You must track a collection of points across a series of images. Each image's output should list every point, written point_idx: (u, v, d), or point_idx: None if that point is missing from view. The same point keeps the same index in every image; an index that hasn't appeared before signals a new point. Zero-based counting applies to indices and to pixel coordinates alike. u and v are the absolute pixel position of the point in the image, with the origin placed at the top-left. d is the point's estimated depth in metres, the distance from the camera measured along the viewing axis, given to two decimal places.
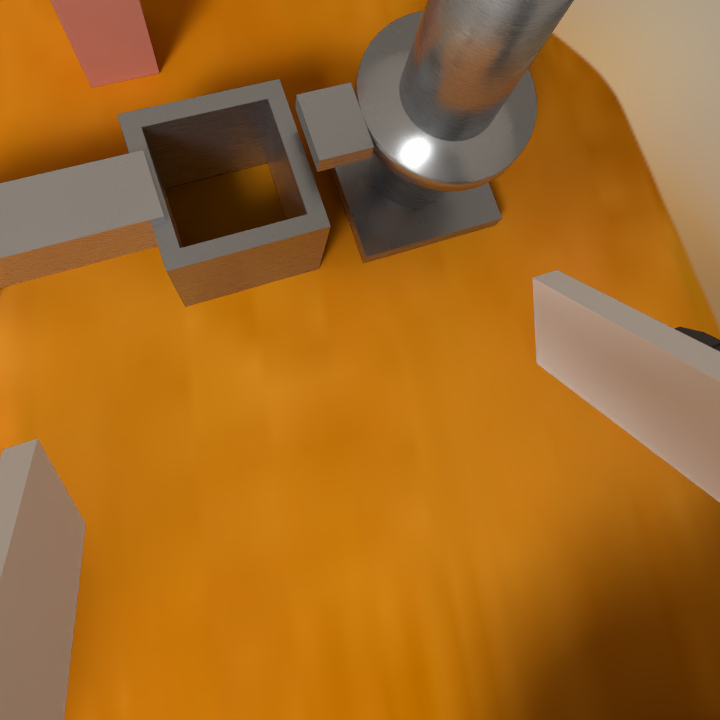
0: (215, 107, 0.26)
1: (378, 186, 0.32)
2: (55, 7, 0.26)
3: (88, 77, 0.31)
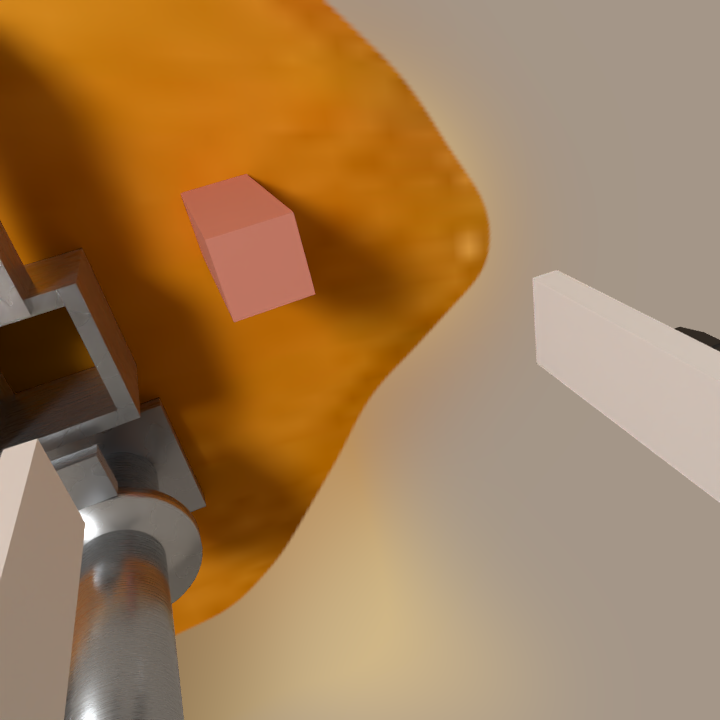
0: (100, 367, 0.28)
1: None
2: (193, 218, 0.27)
3: (182, 197, 0.31)
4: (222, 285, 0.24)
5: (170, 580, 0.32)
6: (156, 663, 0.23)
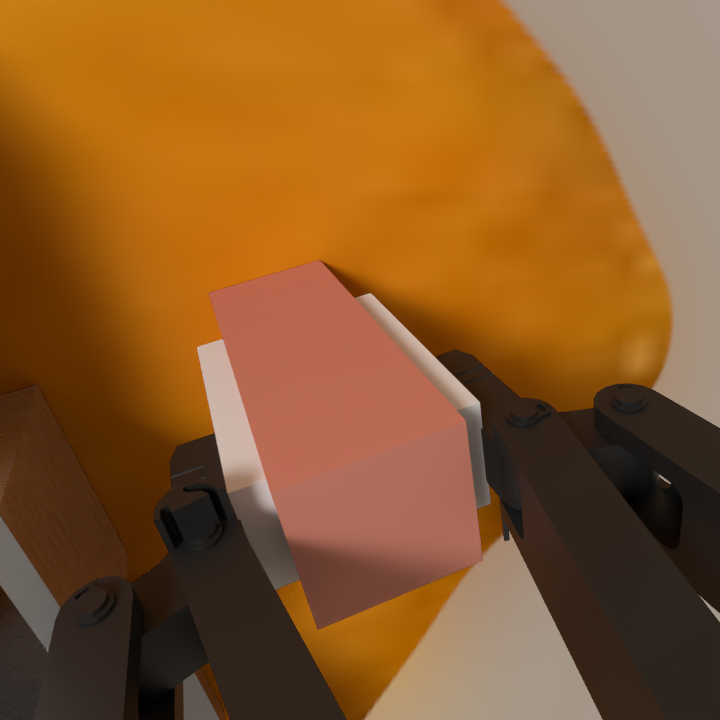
0: None
1: None
2: None
3: (212, 304, 0.18)
4: (300, 571, 0.11)
5: None
6: None
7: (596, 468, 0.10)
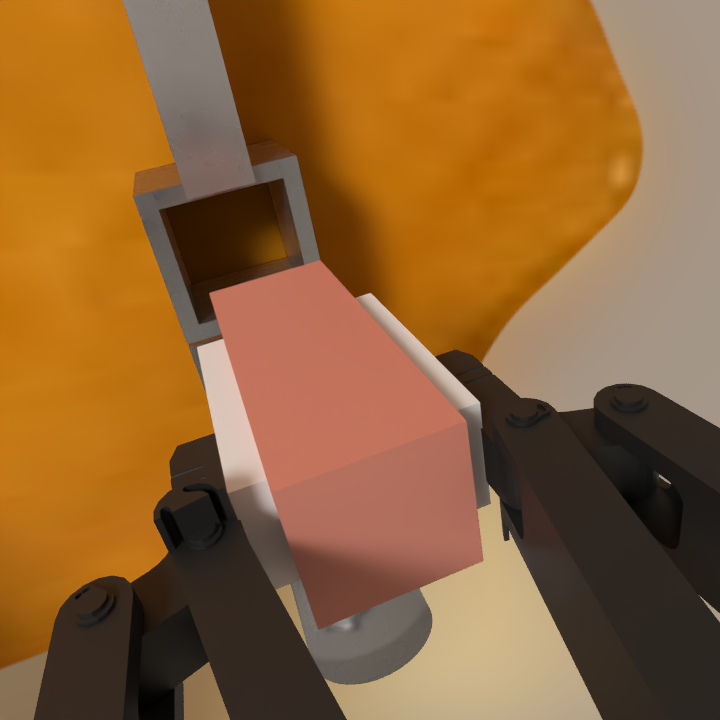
0: (303, 245, 0.29)
1: None
2: None
3: None
4: (301, 571, 0.11)
5: None
6: None
7: (597, 468, 0.10)
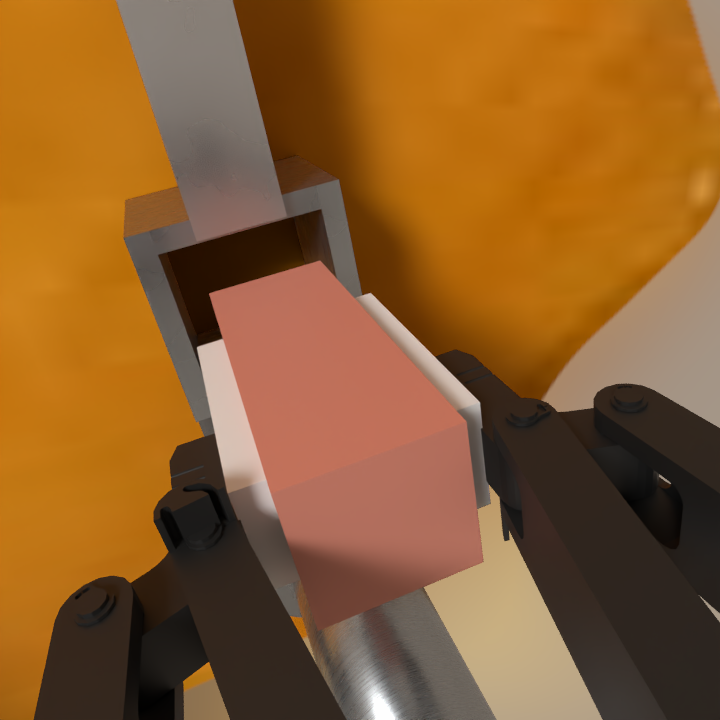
0: None
1: None
2: None
3: None
4: (300, 572, 0.11)
5: None
6: (462, 669, 0.18)
7: (596, 468, 0.10)
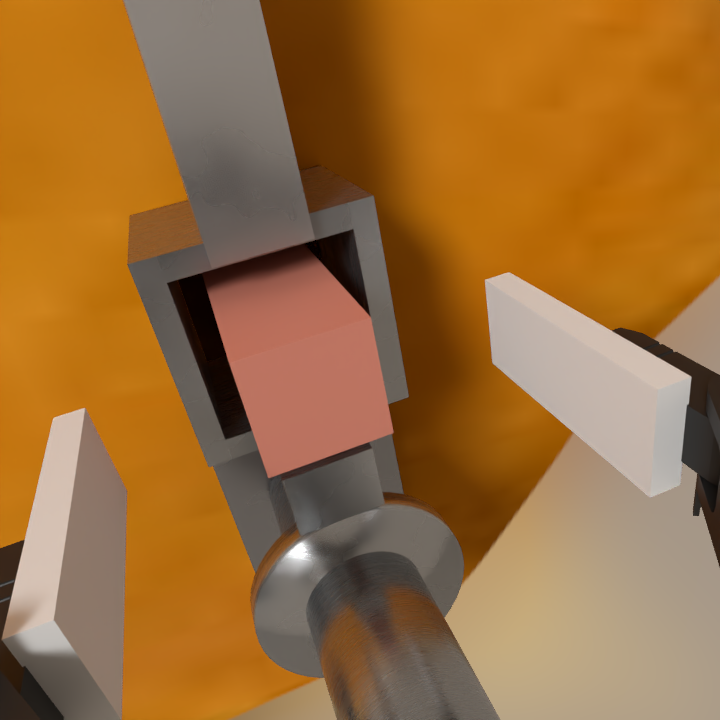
0: (376, 323, 0.20)
1: None
2: None
3: None
4: (253, 427, 0.15)
5: None
6: None
7: None
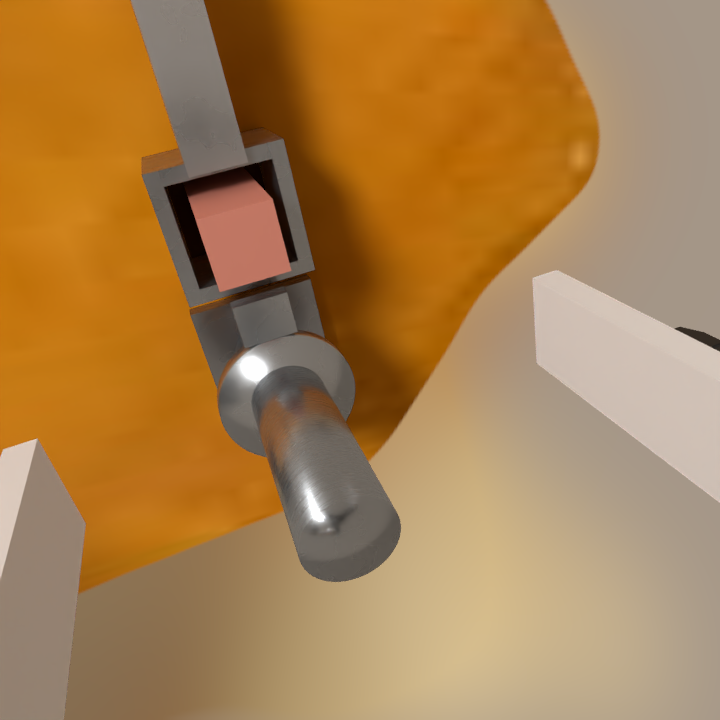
0: (290, 219, 0.33)
1: None
2: None
3: None
4: (210, 259, 0.28)
5: None
6: (355, 445, 0.28)
7: None
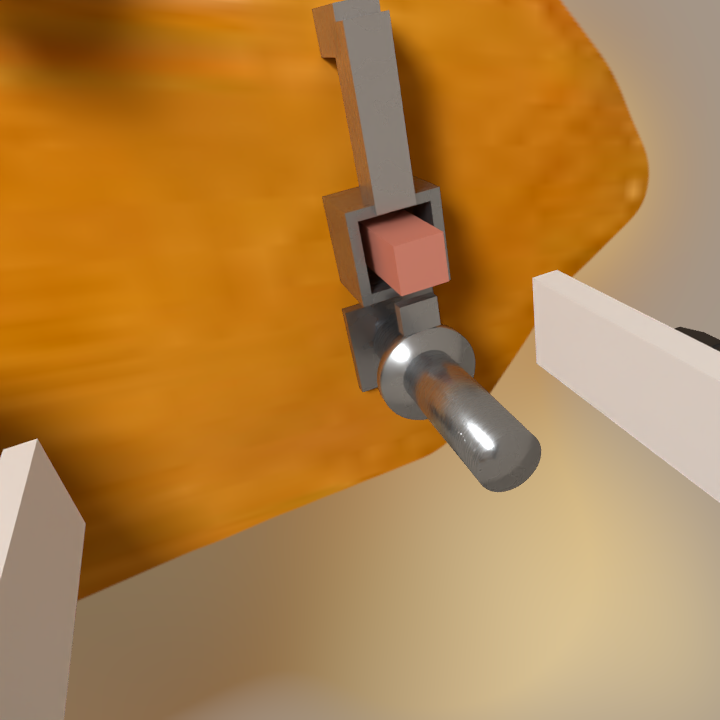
0: None
1: (387, 320, 0.52)
2: (372, 232, 0.43)
3: None
4: (398, 273, 0.40)
5: None
6: (499, 403, 0.41)
7: None
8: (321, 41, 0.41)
